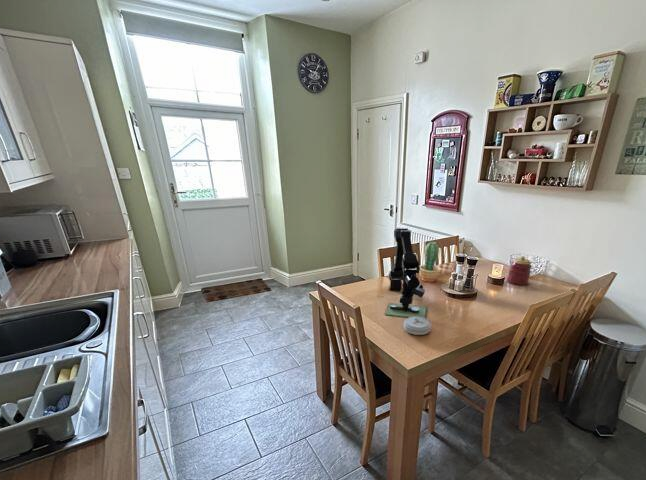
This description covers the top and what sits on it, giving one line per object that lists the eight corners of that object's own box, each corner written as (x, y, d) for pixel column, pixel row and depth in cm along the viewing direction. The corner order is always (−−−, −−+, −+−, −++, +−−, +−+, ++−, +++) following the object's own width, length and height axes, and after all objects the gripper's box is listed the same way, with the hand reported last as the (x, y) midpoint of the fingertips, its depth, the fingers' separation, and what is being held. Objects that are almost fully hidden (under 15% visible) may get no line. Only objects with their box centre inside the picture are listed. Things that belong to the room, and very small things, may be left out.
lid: (434, 335, 150) (435, 325, 148) (408, 337, 148) (409, 327, 145) (424, 322, 161) (425, 313, 159) (399, 324, 159) (400, 315, 157)
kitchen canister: (531, 285, 211) (537, 259, 204) (511, 285, 212) (517, 258, 204) (523, 278, 223) (528, 253, 216) (504, 278, 223) (509, 253, 216)
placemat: (385, 314, 168) (385, 314, 168) (389, 303, 181) (389, 303, 181) (424, 319, 165) (424, 318, 164) (426, 307, 177) (426, 307, 177)
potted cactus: (444, 279, 219) (449, 242, 209) (432, 285, 209) (436, 246, 198) (424, 273, 228) (428, 238, 218) (412, 279, 218) (415, 242, 208)
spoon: (389, 310, 172) (389, 307, 171) (390, 306, 176) (390, 303, 176) (419, 313, 169) (419, 310, 169) (419, 310, 173) (419, 307, 173)
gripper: (423, 289, 156) (420, 318, 162) (425, 276, 173) (423, 303, 179) (400, 287, 158) (398, 316, 164) (404, 274, 175) (402, 301, 181)
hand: (406, 309), depth 172 cm, fingers open, 6 cm apart
